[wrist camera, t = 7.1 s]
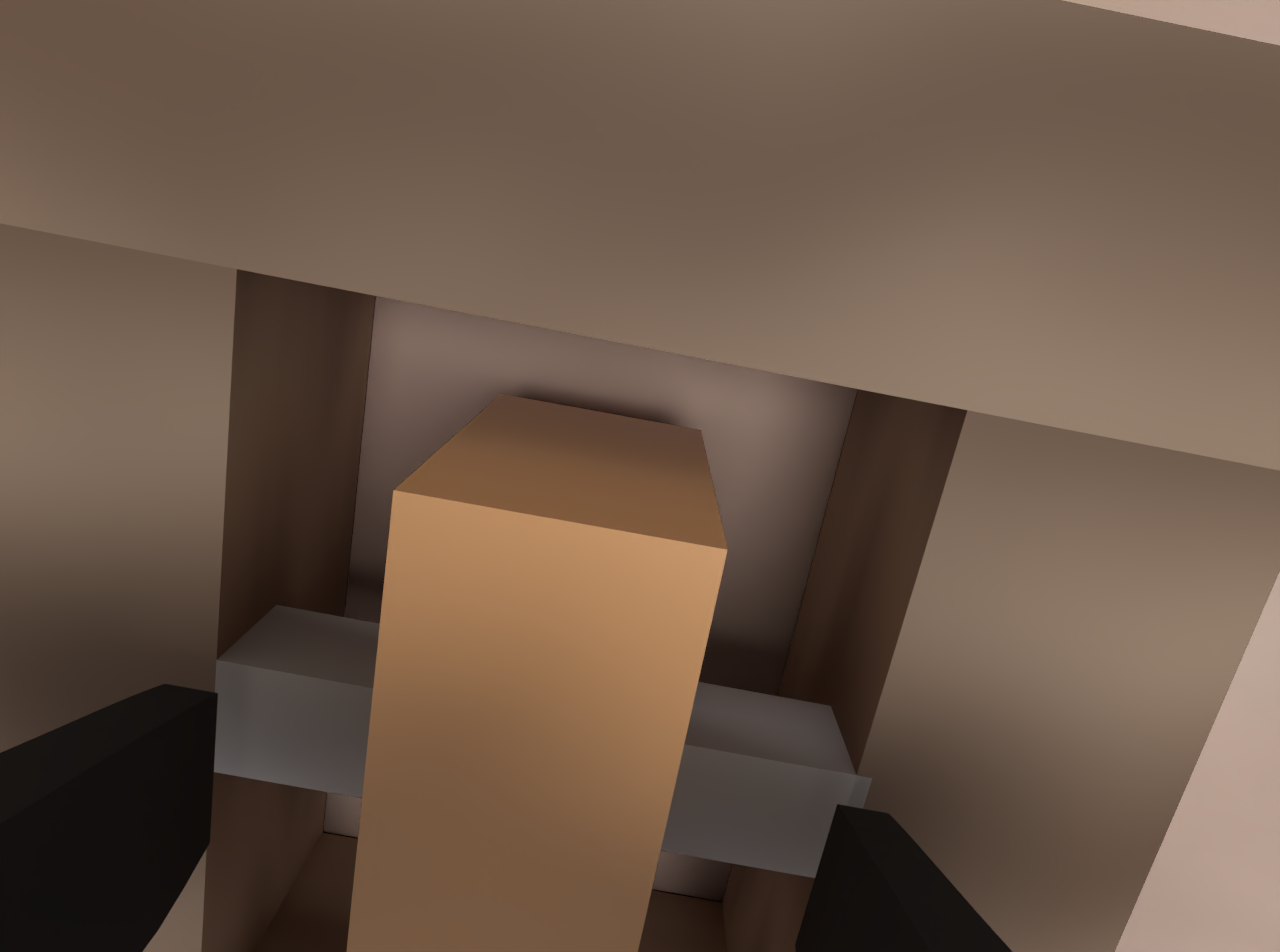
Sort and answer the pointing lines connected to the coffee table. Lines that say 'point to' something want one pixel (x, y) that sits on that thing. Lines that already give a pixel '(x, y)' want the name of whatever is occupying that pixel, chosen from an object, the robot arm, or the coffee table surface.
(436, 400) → the coffee table surface
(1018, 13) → the brown piece
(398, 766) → the tan rectangular block
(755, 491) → the coffee table surface
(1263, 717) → the coffee table surface
